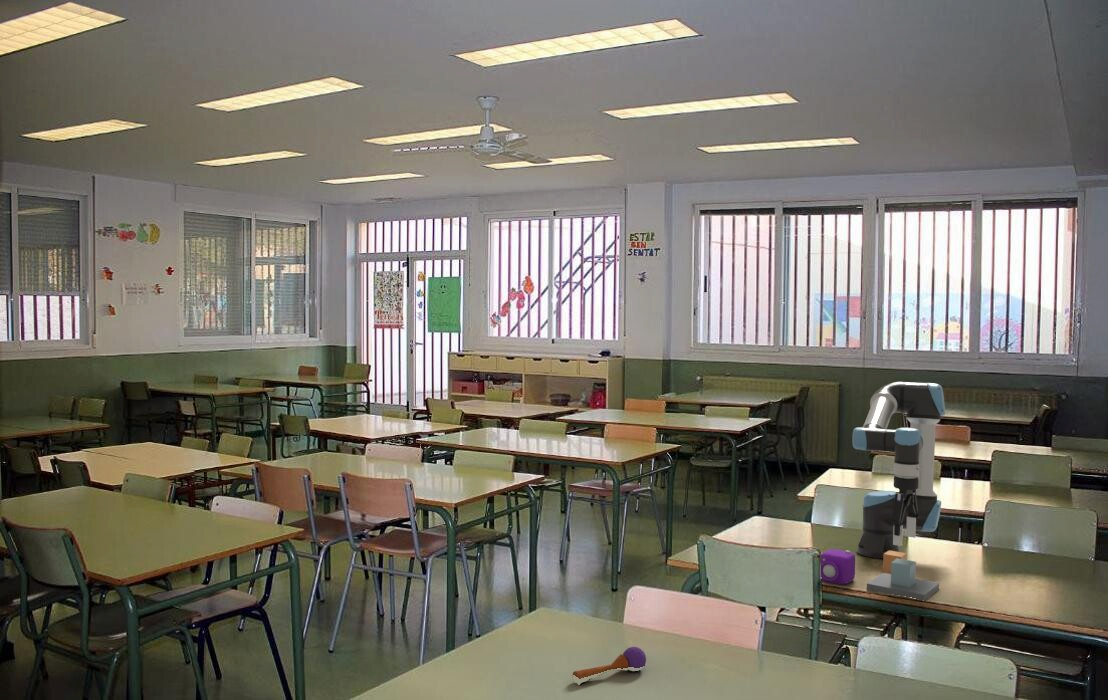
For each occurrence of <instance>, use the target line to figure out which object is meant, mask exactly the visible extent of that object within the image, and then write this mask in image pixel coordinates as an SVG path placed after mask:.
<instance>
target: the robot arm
mask: <svg viewBox="0 0 1108 700" xmlns="http://www.w3.org/2000/svg"><path fill="white" fill-rule="evenodd" d="M869 401H870V402H869V406H870V409H869V411H868V414H867V415H866V418H865V422H864V423H863V426H861V427H855V428H854V429H853V431H852V441H851V442H852V447H853V448H854V449H855V450H861V451H872V452H873V451H874V452H886V453H894V461H893V475H894V477H893V487H894V488H895V489H898V493H897V492H896V491H891V490H876V491H871V492H867V493H866V494H865V495H864V496H863V503H862V533H861V535H860V538H859V539H858V540H859V541H858V542H857V545H856V552H857V553H858V554H859V555H861V556H865V557H868V558H872V557H873V558H874V559H880V558H883V557H884V553H886V552H887V551H889V550H890V551H896V552H901V549H900V547H903V537H904V536H903V534H904V530H905V531H906V533H905V535H906V537H908V538H914V539H915V538H916V534H917V533H916V531H919V532H921V533H922V532H929V533H932V532H934V531H936V530H937V528H938V525H939V524H938V523H939V520H940V515H941V509H942V501H941V500H940V499H939V500H938V494H937V493H936V492H935V491H934V478H935V477H934V476H935V475H934V473H935V448H936V426H937V424H939V422H940V421H941V416H945V415H946V406H945V395H944V390H943V387H942V385H941V384H939V383H932V382H914V381H913V382H909V381H893V382H890V383H888V384H885V385H883V386H881V387H880V388H879V389H878V390H876V391H875V392H874V393H873V394H872V396H871V398H870V400H869ZM896 413H897V414H899V413H900V414H906V420H907V421H908V422H909V423H910V427H899V428H896V429H888V426H889V424H890V421H891V417H892V416H893V414H896ZM873 558H872V559H873Z"/></svg>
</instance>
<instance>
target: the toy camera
mask: <svg viewBox="0 0 1108 700" xmlns="http://www.w3.org/2000/svg"><path fill="white" fill-rule="evenodd" d="M820 556H821V577H822V580H821V581H825V582H828V583H834V584H837V585H847V584H848V583H850V582H852V581H853V580H854V579H855V578H856V555H855V554H854V553H853V552H851V550H848V549H847V550H841V549H833V548H832V549H831V548H829V549H828V550H826V551H824V552H822V553H821V554H820Z"/></svg>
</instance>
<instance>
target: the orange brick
mask: <svg viewBox="0 0 1108 700" xmlns="http://www.w3.org/2000/svg"><path fill="white" fill-rule="evenodd" d="M895 559H903V560H908V553H907V552H902V551H900V552H896V551H890V550H889V551H887V552H886V553H884V557H883V561H882V573H888V574H891V562H892V561H894V560H895Z"/></svg>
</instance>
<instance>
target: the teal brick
mask: <svg viewBox="0 0 1108 700" xmlns="http://www.w3.org/2000/svg"><path fill="white" fill-rule="evenodd" d="M916 565H917V561H913V560H908V559H907V560H903V559H895V560H894V561H892V562H891V584H895V585H901V586H906V587H911V586H912V585H913V584H915V579H916V574H917V573H916V570H917V568H916Z"/></svg>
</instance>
